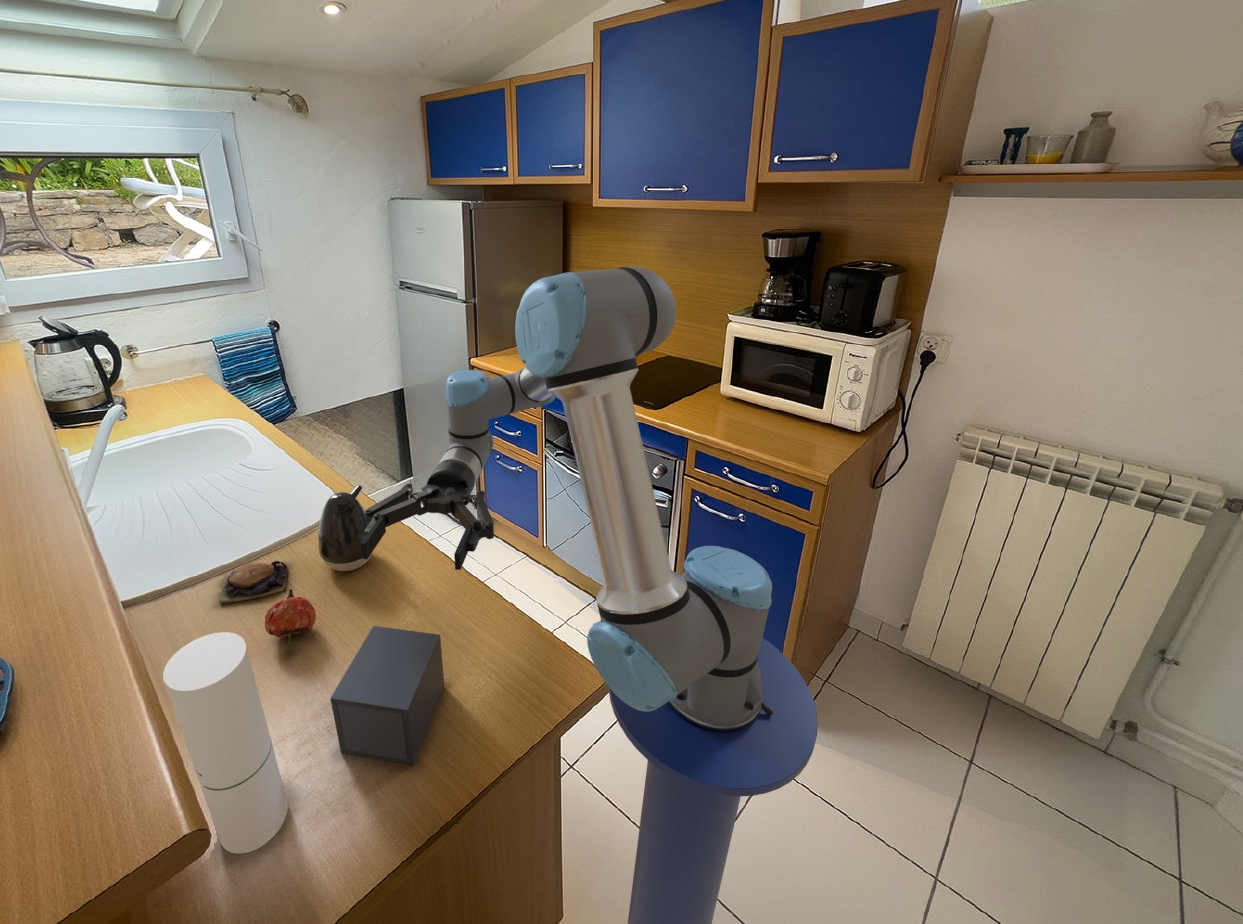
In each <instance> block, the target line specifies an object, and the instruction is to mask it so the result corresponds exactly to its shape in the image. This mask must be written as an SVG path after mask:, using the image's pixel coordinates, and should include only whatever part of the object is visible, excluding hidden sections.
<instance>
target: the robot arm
mask: <svg viewBox="0 0 1243 924" xmlns="http://www.w3.org/2000/svg"><path fill="white" fill-rule="evenodd" d="M677 312H678V311H677V302H676V299H675V296H674V292H673V291H672V289H671V288H670V286H669V285H668V284H667V282H666V281H665V280H664V278H662V277H661V276H659V275H658V274H657V273H655V272H654V271H651V270H649V269H647V268H643V267H638V266H623V267H617V268H608V269H607V268H606V269H596V270H594V269H593V270H583V271H566V272H563V273H559V274H555V275H551V276H550V275H549V276H546V277H542V278H539V279H537V280H535V281H534V282H533V283H531V284H530V285H529V287H528V288H527V289H526V290H525V292H524V294H523V295H522V297H521V299H520V302H519V307H518V308H517V311H516V317H515V326H514V329H515V331H514V332H515V342H516V347H517V352H518V355H519V357H520V360H521V362H522V363H523V364H525V366H524V367H523V368H521V369H520V370H518V371H516V372H513V373H509V374H504V375H499V376H494V377H490V378H488V376H487V375H486V374H485V373H484V372H482V371H480V370H476V369H475V370H474V369H470V370H466V369H465V370H458V371H455V372H453V373H451V374H450V375H449V376H448V378H447V379H446V386H445V389H446V390H445V404H446V413H447V425H448V426H447V429H448V430H447V435H448V448H447V450H446V451H445V453H444V454H443V456H442V457H441V459H440V460H439V461H438V463H437V465H436V467H435V468H434V469H433V471H432V473H431V474H430V475H429V477H428V479H427V481H426V484H425V485H424V486H423V487H421V488H413V484H412V483H405V484H404V485H403V487H401V488H400V489H399V490H398V491H396V492H394V493H392V494H391V495H388V496H387V497H386V498H383V499H382V500H380V501H379V502H377V503H375V504H373V505H371V506H369V507H367V508H366V509H364V510H365V518H366V525H367V528H366V529H365V538H364V539H363V540H362V542H361V543H360V544H361V552H362V559H368V558H369V556H370V555H371V553H372V554H373V553H374V550H375V549H376V548H377V546H378V544H380V541H381V540H382V538H383V537H384V536H385V534H386V532H387V528H388V527H390V526H392V525H395V524H397V523H400V522H402V521H405V520H407V519H409V518H411V517H415V516H416V515H417V516H420V517H421V516H423V515H425V514H427V513H429V514H440V515H448V514H451V515H452V517H453V518H454V519H455V520H458V522H459V523H460V524H461V526H462V527H463V528H464V529H465V530H464V532H463V534H462V536H461V538H460V540H459V543H458V545H457V547H456V549H455V551H454V553H453V555H454V570H456V571H461V569H462V568H463V565H464V563H465V560H466V558H467V556H468V553H469V552H471V553H474V552H475V551H476V549H477V547H478V544H479V542H480V541H481V540H482V538H486V539H487V540H492V539H494V537H495V526H494V524H495V523H494V521H493V518H492V515H491V513H490V510H489V508H488V505H487V504H486V491H485V490H479V491H477V494H472V493H473V490H474V488H475V486H476V484H477V482H478V479H479V478H480V475H482V472H483V469H484V467H485V466H486V463H487V461H488V460H489V459H490V457H491V455H492V452H493V447H494V445H495V443H494V441H495V440H494V436H493V434H492V433H491V431H490V427H489V424H490V420H493V419H496V418H500V417H504V416H508V415H511V414H515V413H518V412H522V411H526V410H531V409H534V408H535V409H537V408H541V407H543V406H545V405H548V404H550V403H552V402H554V401H555V399H556V398H557V399H558V400H560V402H561V403H562V407H563V410H564V415H565V419H566V424H567V428H568V433H569V436H570V440H571V444H572V449H573V452H574V453H573V454H574V458H575V462H576V466H577V470H578V475H579V479H580V483H581V489H582V492H583V496H584V500H585V505H586V509H587V514H588V517H589V523H590V527H591V531H592V535H593V539H594V544H595V547H596V551H597V556H598V561H599V565H600V569H601V573H602V577H603V582H604V583H603V584H602V586H601V587H600V589H599V591H598V592H597V594H596V598H595V599H596V605H597V608H598V614H599V618H600V620H599V621H597V622H594V623H593V624H592V626H591V627H590V628H589V630H588V633H587V636H586V643H587V648H588V652H589V655H590V658H591V660H592V663H593V665H594V667H595V669H596V670H597V672H598V674H599V675H600V677H601V678H602V680H603V681H604V683H605V684H606V685H607V686H609V687H610V689H611V690H612V691H613V692H614V693H615V694H616V695H617V696H618V697H619V698H620V699H621V700H622V701H623V702H625V703H626V704H628V705H629V706H631V707H632V708H634V709H637V710H640V711H645V712H648V711H653V710H656V709H657V708H659V707H661V706H662V705H664V704H665V703H667V704H668V705H669V706H670V708H671V709H672V710H673V711H674V712H675V713H676V714H677V715H678V716H680V717H681V718H682V719H684V720H685V721H687V722H688V723H690V724H692V725H694V726H696V727H698V728H701V729H704V730H707V731H711V732H718V733H730V732H736V731H740V730H742V729H745V728H746V727H748V726H750V725H751V724H752V723H753V722H754V721H755V720H756V719H757V717H758V715H759V714H760V711H761V709H762V710H763V711H765V712H766V713H767V714H768V715H769V716H771V715H772V714H773V712H772V711H771V710H770V709H769V708H768V707H767V706H766V705H765V704H764V703H762V702H763V683H762V679H761V674H760V669H759V665H758V655H759V651H760V646H761V642H762V638H764V633H765V628H766V624H767V620H768V615H769V610H770V607H771V606H772V591H773V583H772V580H771V577H770V575H769V573H768V572H767V570H766V569H765V567H763V566H762V565H761V564H760V563H759V562H757V561H756V560H755V559H753V558H752V557H750V556H749V555H747V554H744V553H743V552H740V551H738V550H735V549H732V548H728V547H722V546H719V545H718V546H717V545H703V546H699V547H696V548H694V549H692V550H690V552H689V553H688V554H687V556H686V558H685V560H684V562H683V569H684V571H683V572H682V573H681V574H679V573H677V572H676V571H674V570H672V567H671V563H670V559H669V554H668V550H667V549H668V548H667V546H666V545H667V544H666V541H665V537H664V532H663V527H662V523H661V518H660V515H659V511H658V506H657V501H656V498H655V497H656V496H655V492H654V488H653V484H652V479H651V475H650V471H649V466H648V462H647V458H646V453H645V449H644V445H643V440H642V435H641V431H640V427H639V422H638V419H637V418H638V417H637V414H636V410H635V405H634V400H633V395H632V392H631V388H630V387H631V384H632V382H633V380H634V379H635V377H636V375H637V374H638V372H639V366H638V361H637V358H638V357H639V356H641V355H643V354H646V353H648V352H650V351H653V350H654V349H657V348H658V347H660V346H661V345H662V344H663V343H664V342H665V341H666V340H667V339H668V338H669V336H670V335H671V333H672V331H673V329H674V328H675V324H676V320H677ZM469 504H471V505H472V507H473V509H474V510H476V514H477V518H478V519H477V518H476V516H474V514H473V513H472V512H471V511H470V509H468V507H467V506H468V505H469ZM371 556H372V555H371ZM369 559H370V558H369Z"/></svg>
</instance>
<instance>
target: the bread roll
mask: <svg viewBox="0 0 1243 924" xmlns="http://www.w3.org/2000/svg"><path fill="white" fill-rule="evenodd" d="M287 577H288V566H287V564H286V563H284V562H283V561H279V560H274V561H272V562H271V563H267V562H252V563H246V564H245V565H242V566H240V567H238V568H237V569H235V570H233V571H232V572H231V573H230V574H227V575H225V576H224V579H223V583H222V586H221V587H222V588H221V592H220V596H219V599H218V600H219V602H218V603H219V604H228V603H234V602H235V603H236V602H242V601H243V602H245V601H247V600H252V599H257V598H261V597H267V596H268V595H272V594H278V593H281V592H285V590H286V588H287V581H288V578H287Z"/></svg>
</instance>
